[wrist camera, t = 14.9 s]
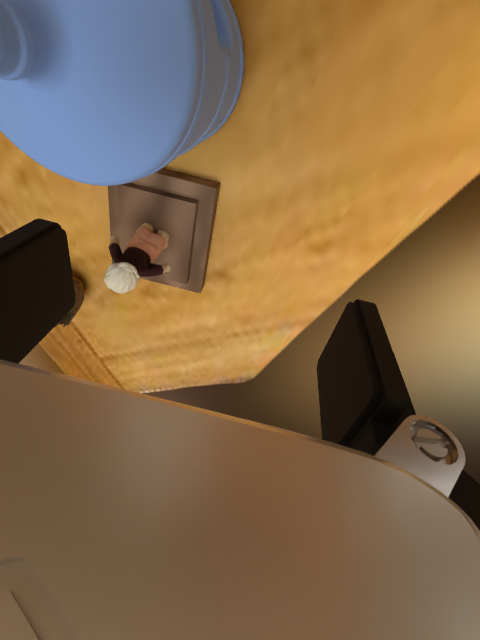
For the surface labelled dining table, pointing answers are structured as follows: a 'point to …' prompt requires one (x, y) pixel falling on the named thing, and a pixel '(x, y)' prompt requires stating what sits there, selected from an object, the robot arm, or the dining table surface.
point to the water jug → (116, 82)
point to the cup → (79, 300)
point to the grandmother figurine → (136, 259)
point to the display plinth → (203, 218)
